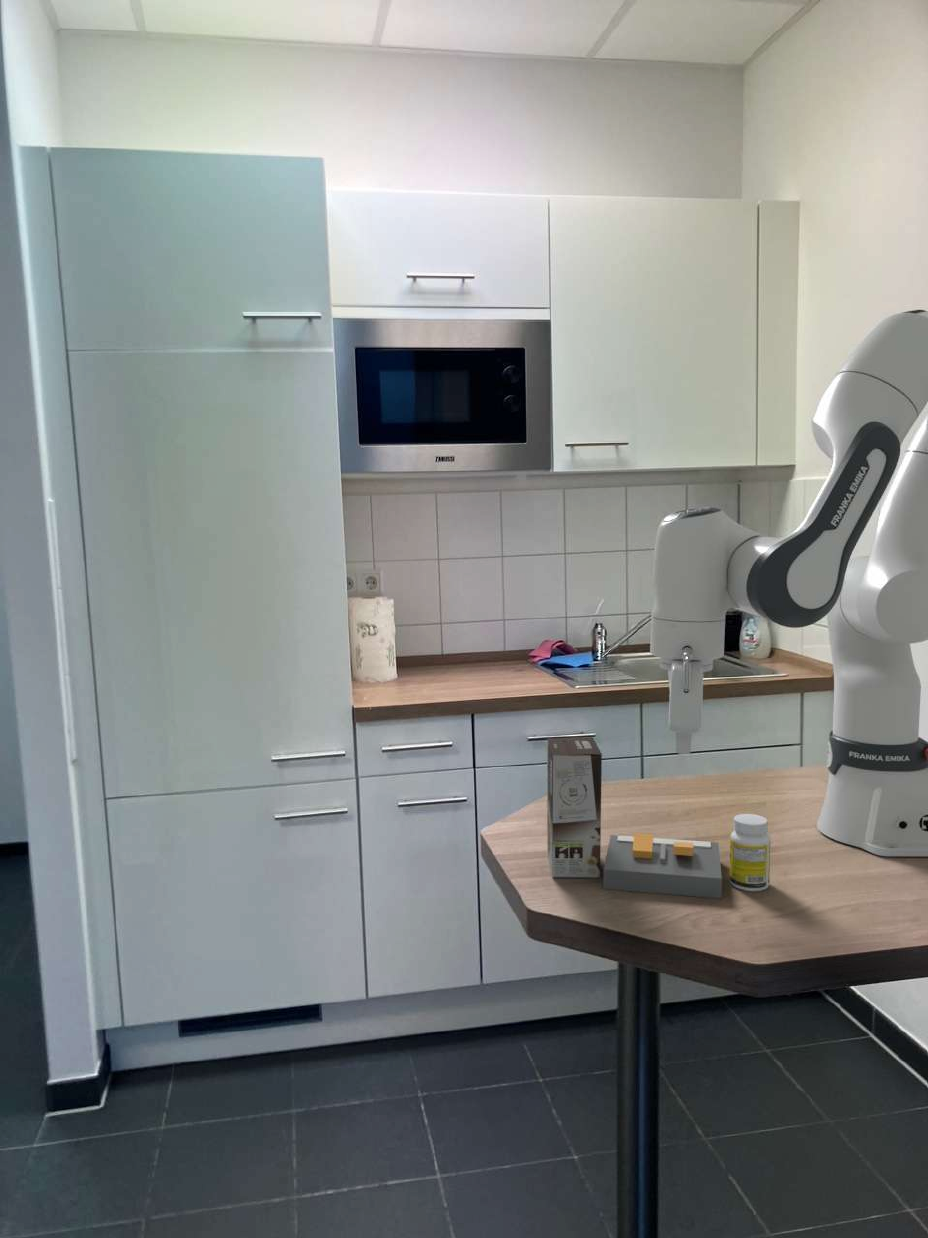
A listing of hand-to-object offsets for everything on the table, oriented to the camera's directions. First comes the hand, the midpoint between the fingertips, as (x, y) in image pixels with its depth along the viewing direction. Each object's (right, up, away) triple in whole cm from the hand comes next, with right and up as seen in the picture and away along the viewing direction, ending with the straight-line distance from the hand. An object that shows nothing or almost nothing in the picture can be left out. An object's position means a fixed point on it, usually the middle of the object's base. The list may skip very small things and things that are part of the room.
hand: (683, 751), depth 115 cm
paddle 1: (-4, -13, +3) cm, 13 cm away
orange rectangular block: (0, -13, +2) cm, 13 cm away
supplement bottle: (+8, -17, -1) cm, 18 cm away
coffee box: (-13, -16, +6) cm, 22 cm away
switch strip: (-2, -16, +3) cm, 16 cm away
